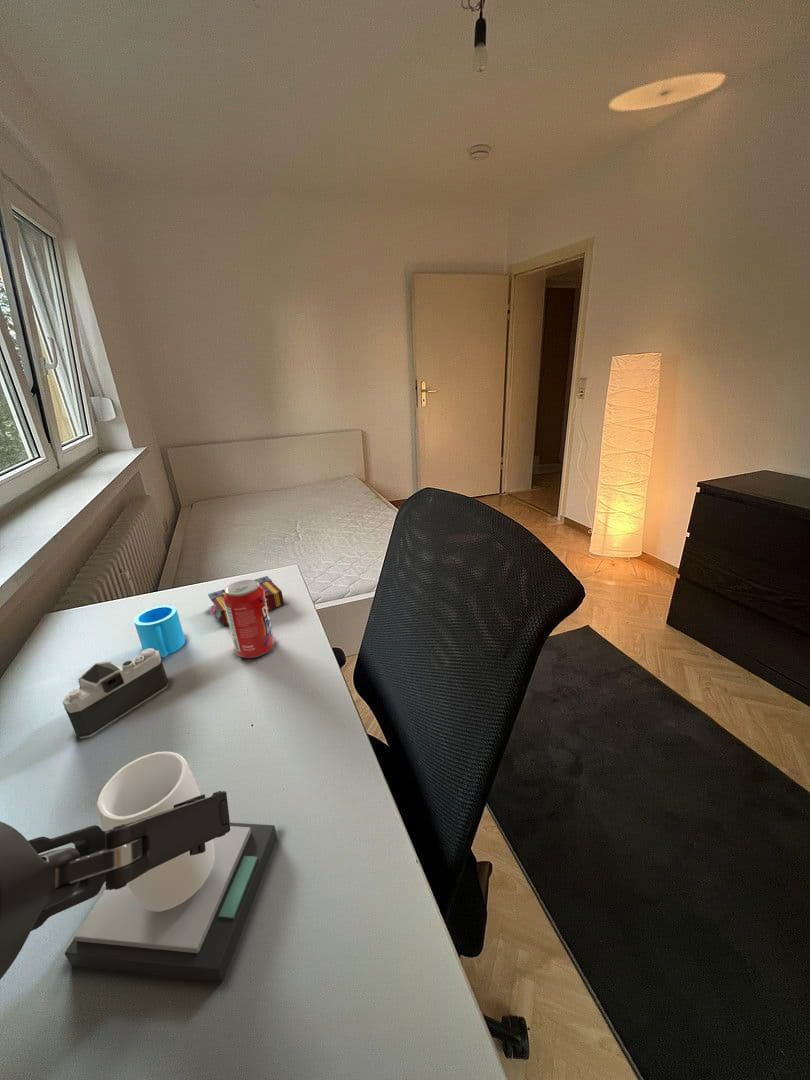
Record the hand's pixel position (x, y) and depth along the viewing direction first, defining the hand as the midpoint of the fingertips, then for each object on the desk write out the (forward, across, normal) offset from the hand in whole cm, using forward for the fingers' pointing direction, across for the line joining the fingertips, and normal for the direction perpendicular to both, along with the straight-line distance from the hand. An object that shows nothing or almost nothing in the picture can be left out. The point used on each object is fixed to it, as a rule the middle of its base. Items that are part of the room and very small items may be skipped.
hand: (108, 843), depth 34 cm
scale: (+20, 0, -8) cm, 22 cm away
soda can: (+54, +9, +24) cm, 60 cm away
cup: (+18, 0, -6) cm, 19 cm away
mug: (+59, -10, +30) cm, 67 cm away
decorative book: (+68, +7, +38) cm, 78 cm away
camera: (+48, -15, +19) cm, 54 cm away
